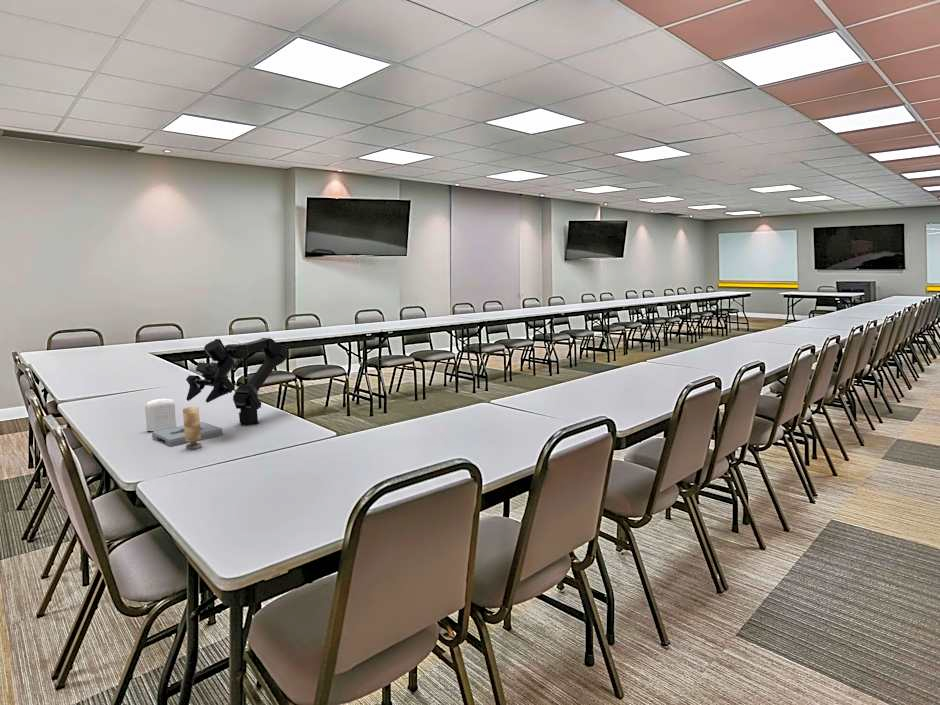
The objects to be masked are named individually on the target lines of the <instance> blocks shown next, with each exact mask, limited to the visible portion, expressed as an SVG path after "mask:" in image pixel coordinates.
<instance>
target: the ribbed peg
mask: <svg viewBox="0 0 940 705" xmlns="http://www.w3.org/2000/svg"><path fill="white" fill-rule="evenodd" d="M182 416H183V417H182V418H183V426H184V431H185V441H190V442H189V443H187V444H186V445H185V450H187V449H195V450H199V449H201V448H202V443H201V442H198V441H201V440H200V439H201V432H200V422H201V420H200V410H199V407H197V406H191V407H184V408H183V409H182ZM197 440H198V441H197ZM198 448H199V449H198Z"/></svg>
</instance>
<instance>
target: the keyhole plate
mask: <svg viewBox="0 0 940 705" xmlns="http://www.w3.org/2000/svg"><path fill="white" fill-rule="evenodd" d="M200 432H201V439H200V440H199V441H201V440H206V439H211V438H215V437H220V436H223V434H224V432H223V428H222V427H219V426H216V425H214V424H210V423H208V422H205V421H200ZM151 437H152V438H154V439H153V440H155V439H156V440H155V441H159V440H158V439H161V440H163V441H165V445H166V444H167V445H166V446H168V445H169V446H168V447H170V446H171V447H174V446H173V445H175V446H178V445H177V444H180V445H183V444H182V443H184V444H189V443H190V441H185V431H184V425H180V426H176V427H174V428H169V429H164V430H159V431H153V432H151ZM188 442H189V443H188Z"/></svg>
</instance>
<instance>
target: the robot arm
mask: <svg viewBox="0 0 940 705" xmlns="http://www.w3.org/2000/svg"><path fill="white" fill-rule="evenodd" d="M203 349H204V351H205V352H206V353H207V355H208V356H209V358H210V359H211V360H212V361H213V362H209V363H208V362H197V364H196V365H197V366H196V367H195V369H194V370H195V372H198V373H200V374H201V377H202V378H201V377H200V376H199V375H193V374H191V375H190V374H189V375H188V376H187V378H185V380H186V382H187V383H188V385H189V389H188V393H187V395H186V399H185V400H187V401H188V402H189V401H191V400H192V399H194V398H195V397H196V396H197V395H199V394H200V393H202V390H204V388H205V387H207V386H210V387H211V388H212V390H211V391H210V392H209V394H208V395H207V397H206V399H205V402H206V403H210V402H212V401H214V400H216V399H218V398H220V397H222V396H225V395H229V393H231V394H232V392H233V395H232V396H233V397H232V401H233V404H234V406H235V408H236V409H239V410H240V411H238V417H239V418H238V419H239V420H238V422H239V424H241V426H247V425H248V426H249V425H258V424H259V418H258V410H259V409H260V408H261V407H262V401H260V399H258V397H259V390H260V389H261V387H262V386H263V384H264V383H265V382H266V380H267V379H268V377H269V376H270V375H271V373H272V372H273V371H274V369H275V368H276V367H277V366H279V365H281V364H283V363H284V362H285V361H286V360H287V358H288V357H289V353H288V352H289V351H288V350H287V348H286V347H285V346H283V345H281V344H280V343H278V342H277V341H275V340H274V339H273V338H270V337H261V338H259V339H256V340H253V341H249V342H245V343H234V344H233V343H231V344H226V345H224V344H223V341H222V340H221V339H220V338H216V339H214V340H213V341H210V342H208V343H206V344H205V345H204V348H203ZM259 351H262V352H263V354H264V361H263V363H261V365H260V367H259V368H258V369H257V371H256V372H255V373H254V375H253V376H252V377H251V378H250V380H249V381H248V382H247V384H246V385H245V384H239V385H238V387H237V388H236V390H235V391H234V389H235V385H234V384H233V382H232V381H231V380H230V378H229V373H230V372H231V371H232V370H238V368H239V366H238V362H236V361H235V360H242V359H245V358H247V357H248V356H249V354H251V353H254V352H259Z"/></svg>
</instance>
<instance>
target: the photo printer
mask: <svg viewBox="0 0 940 705" xmlns="http://www.w3.org/2000/svg"><path fill="white" fill-rule="evenodd" d="M144 407H145V408H144V410H145V423H146V431H153V432H154V431H159V430H164V429H169V428H174V427H177V419H176V418H177V417H176V406H175V402H174V400H173V399H171V398H157V399H152V400H149V401H147V402H146V403H145V406H144Z"/></svg>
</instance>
